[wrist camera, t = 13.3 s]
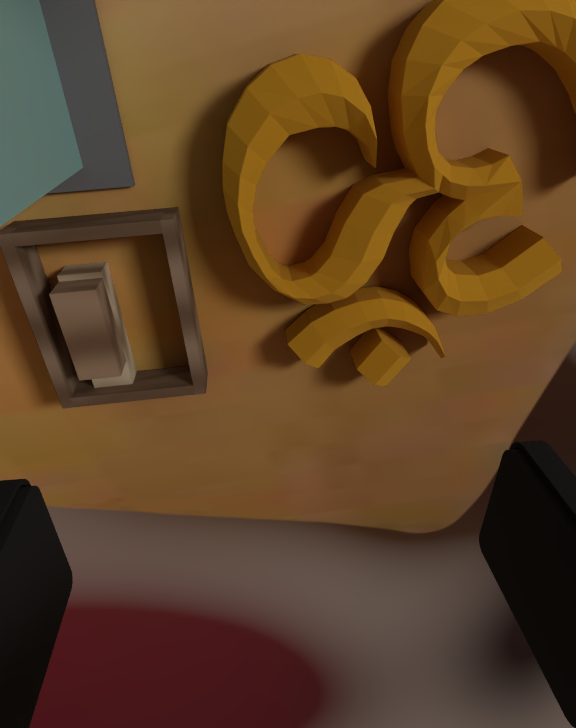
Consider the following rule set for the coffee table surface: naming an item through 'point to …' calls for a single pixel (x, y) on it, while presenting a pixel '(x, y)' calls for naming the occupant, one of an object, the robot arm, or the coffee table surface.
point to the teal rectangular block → (31, 112)
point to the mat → (88, 95)
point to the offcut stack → (93, 325)
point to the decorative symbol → (397, 183)
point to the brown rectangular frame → (44, 321)
